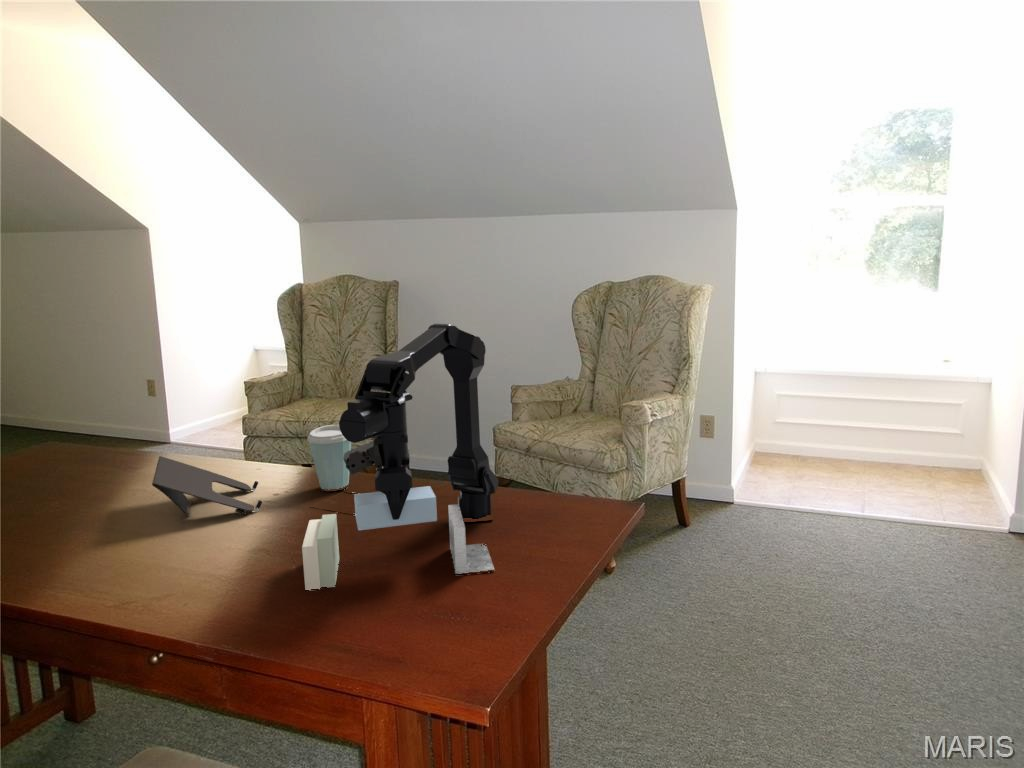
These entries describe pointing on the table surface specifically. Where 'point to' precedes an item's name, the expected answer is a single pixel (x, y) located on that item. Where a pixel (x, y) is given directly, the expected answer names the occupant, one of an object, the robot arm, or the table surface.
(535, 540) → the table surface
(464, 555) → the l-shaped bookend
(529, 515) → the table surface
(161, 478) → the portable electronic device stand
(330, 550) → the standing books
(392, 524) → the light blue rectangular block
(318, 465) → the disposable coffee cup
